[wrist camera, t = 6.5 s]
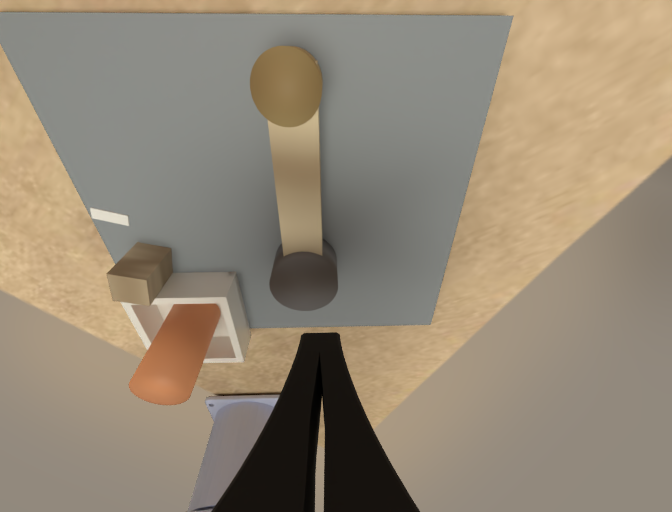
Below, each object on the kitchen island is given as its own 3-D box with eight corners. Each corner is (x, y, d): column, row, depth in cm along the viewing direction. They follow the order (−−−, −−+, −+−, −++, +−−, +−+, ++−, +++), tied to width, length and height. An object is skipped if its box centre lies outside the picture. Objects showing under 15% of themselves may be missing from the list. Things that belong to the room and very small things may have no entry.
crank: (336, 283, 21) (338, 321, 18) (278, 284, 21) (271, 322, 18) (338, 46, 13) (341, 46, 10) (246, 45, 13) (223, 45, 10)
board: (427, 317, 24) (430, 325, 24) (154, 322, 24) (149, 330, 23) (504, 17, 13) (514, 15, 13) (1, 13, 13) (-19, 11, 12)
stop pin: (213, 293, 20) (179, 372, 16) (225, 324, 22) (198, 403, 18) (166, 295, 20) (118, 375, 16) (182, 326, 22) (143, 406, 18)
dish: (251, 335, 24) (244, 362, 22) (169, 336, 24) (155, 364, 22) (236, 271, 20) (226, 297, 18) (140, 273, 20) (118, 299, 18)
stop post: (171, 248, 19) (146, 280, 16) (173, 272, 20) (149, 306, 17) (137, 242, 19) (106, 273, 16) (140, 266, 20) (112, 300, 17)
